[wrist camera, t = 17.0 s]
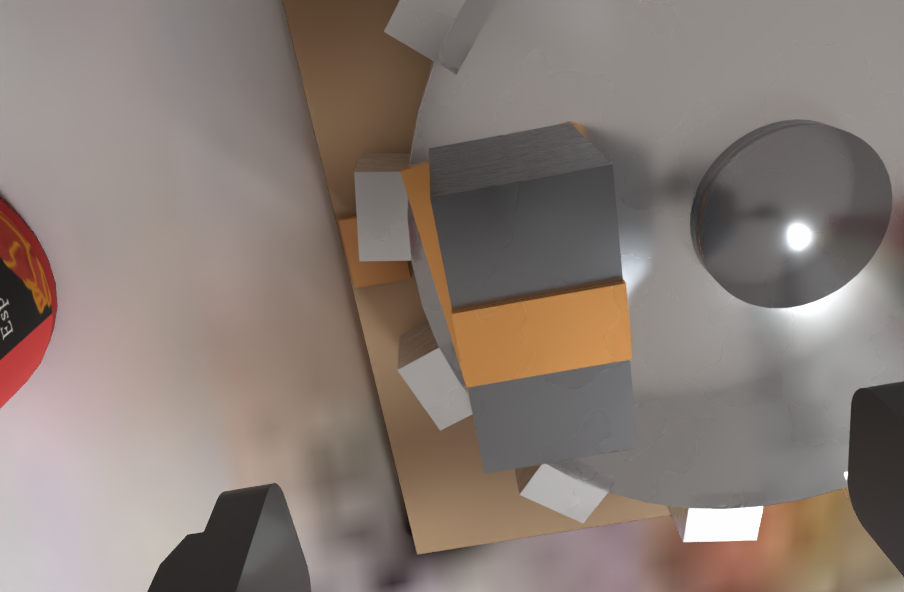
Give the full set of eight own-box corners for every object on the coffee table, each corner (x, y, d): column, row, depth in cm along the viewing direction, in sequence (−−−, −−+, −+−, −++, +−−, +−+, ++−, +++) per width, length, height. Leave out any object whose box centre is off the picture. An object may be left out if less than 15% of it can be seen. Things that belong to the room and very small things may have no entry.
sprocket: (1317, 37, 18) (1917, 76, 11) (789, 581, 25) (940, 831, 18) (668, -532, 14) (955, -1129, 6) (237, 325, 20) (131, 520, 13)
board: (1063, 441, 24) (1083, 455, 24) (417, 541, 25) (417, 558, 24) (1243, -407, 15) (1283, -426, 15) (235, -211, 16) (227, -220, 15)
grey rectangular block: (596, 355, 19) (640, 452, 15) (471, 377, 19) (484, 478, 15) (570, 122, 16) (616, 166, 12) (427, 148, 16) (428, 200, 12)
